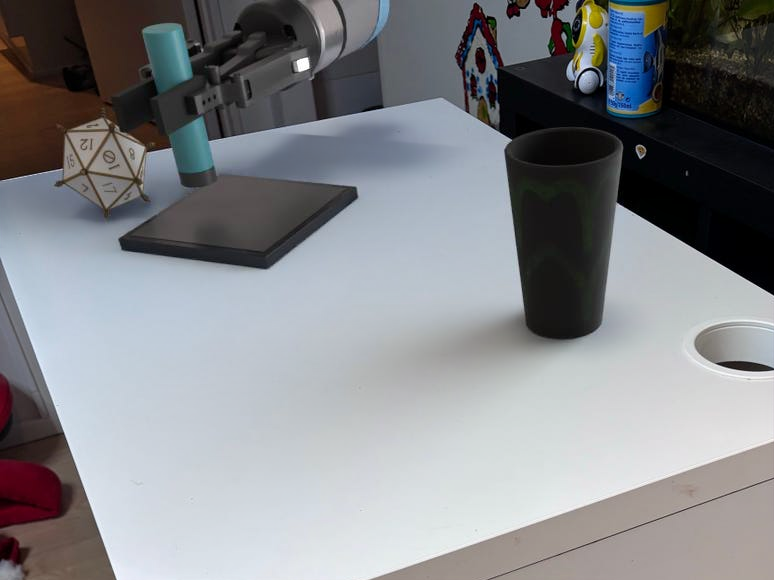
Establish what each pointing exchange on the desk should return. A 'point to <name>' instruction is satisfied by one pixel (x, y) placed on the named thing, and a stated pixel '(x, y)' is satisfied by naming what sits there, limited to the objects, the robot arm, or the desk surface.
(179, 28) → the teal cylinder
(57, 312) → the desk surface
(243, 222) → the plate
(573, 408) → the desk surface
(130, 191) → the game die
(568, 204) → the cup
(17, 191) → the desk surface
